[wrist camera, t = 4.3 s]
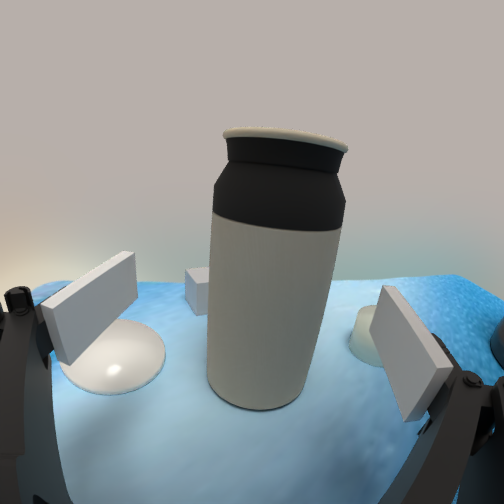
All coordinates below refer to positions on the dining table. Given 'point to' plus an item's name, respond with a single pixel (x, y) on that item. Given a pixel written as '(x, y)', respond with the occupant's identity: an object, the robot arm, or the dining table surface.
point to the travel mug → (271, 261)
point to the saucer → (118, 360)
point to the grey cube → (197, 289)
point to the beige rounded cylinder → (364, 338)
